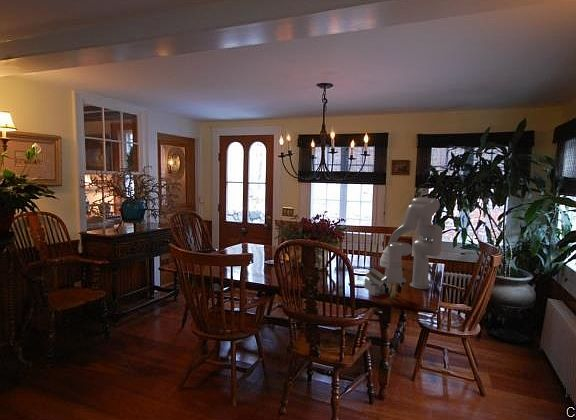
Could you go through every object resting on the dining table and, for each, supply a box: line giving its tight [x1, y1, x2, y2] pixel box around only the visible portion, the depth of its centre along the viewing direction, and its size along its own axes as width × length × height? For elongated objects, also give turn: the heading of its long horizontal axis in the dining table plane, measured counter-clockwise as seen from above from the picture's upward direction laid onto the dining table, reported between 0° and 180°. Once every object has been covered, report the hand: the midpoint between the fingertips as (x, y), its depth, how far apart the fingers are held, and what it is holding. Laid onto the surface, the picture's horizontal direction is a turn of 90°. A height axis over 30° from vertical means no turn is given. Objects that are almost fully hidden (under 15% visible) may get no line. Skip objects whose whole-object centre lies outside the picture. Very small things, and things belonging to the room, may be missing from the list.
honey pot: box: [379, 242, 389, 268], centre depth 301 cm, size 13×13×18 cm
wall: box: [364, 267, 386, 284], centre depth 250 cm, size 16×9×15 cm
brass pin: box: [389, 284, 397, 299], centre depth 223 cm, size 3×3×10 cm
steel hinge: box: [364, 277, 391, 297], centre depth 235 cm, size 17×17×6 cm
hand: (392, 292), depth 223 cm, fingers open, 7 cm apart
